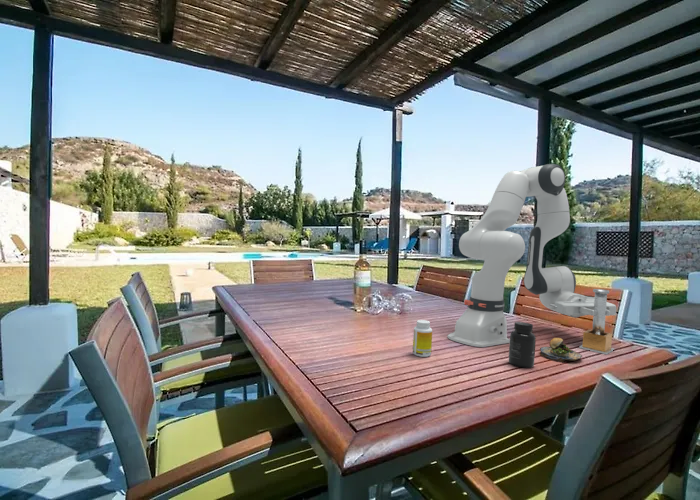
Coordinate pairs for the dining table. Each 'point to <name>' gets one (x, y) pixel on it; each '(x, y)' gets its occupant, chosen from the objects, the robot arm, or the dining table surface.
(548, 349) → the burger
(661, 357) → the dining table surface
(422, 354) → the supplement bottle
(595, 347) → the block
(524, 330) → the supplement bottle
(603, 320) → the drop pin
